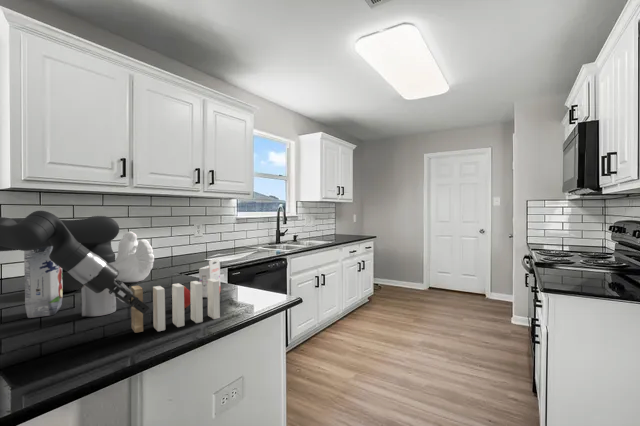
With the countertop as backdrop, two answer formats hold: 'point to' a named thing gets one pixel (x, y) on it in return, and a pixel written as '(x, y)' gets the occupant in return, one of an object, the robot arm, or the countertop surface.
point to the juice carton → (42, 283)
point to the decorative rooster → (133, 258)
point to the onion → (186, 297)
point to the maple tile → (136, 314)
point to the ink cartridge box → (209, 275)
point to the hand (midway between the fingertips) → (144, 308)
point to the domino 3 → (196, 301)
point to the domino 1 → (159, 308)
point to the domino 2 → (178, 304)
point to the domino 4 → (213, 298)
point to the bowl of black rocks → (69, 282)
